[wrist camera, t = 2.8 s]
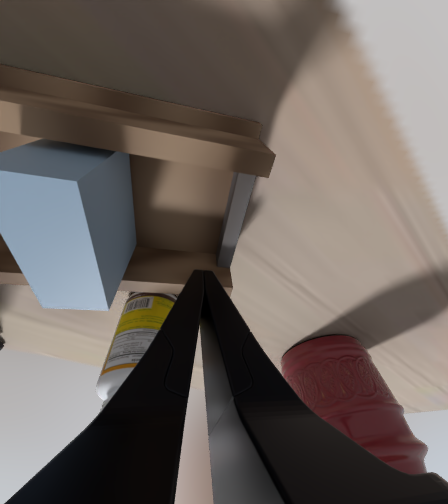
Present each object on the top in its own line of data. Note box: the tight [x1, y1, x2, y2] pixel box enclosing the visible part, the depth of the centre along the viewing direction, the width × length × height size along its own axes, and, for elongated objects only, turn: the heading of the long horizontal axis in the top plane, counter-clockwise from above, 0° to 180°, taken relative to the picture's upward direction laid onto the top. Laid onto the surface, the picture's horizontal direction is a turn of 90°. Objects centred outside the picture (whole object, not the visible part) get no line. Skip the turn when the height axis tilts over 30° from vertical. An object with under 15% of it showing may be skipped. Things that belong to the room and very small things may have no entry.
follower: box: [0, 139, 137, 311], centre depth 11 cm, size 3×7×6 cm, turn 169°
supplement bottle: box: [96, 292, 177, 412], centre depth 17 cm, size 6×6×10 cm
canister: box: [281, 335, 428, 474], centre depth 26 cm, size 13×13×18 cm
